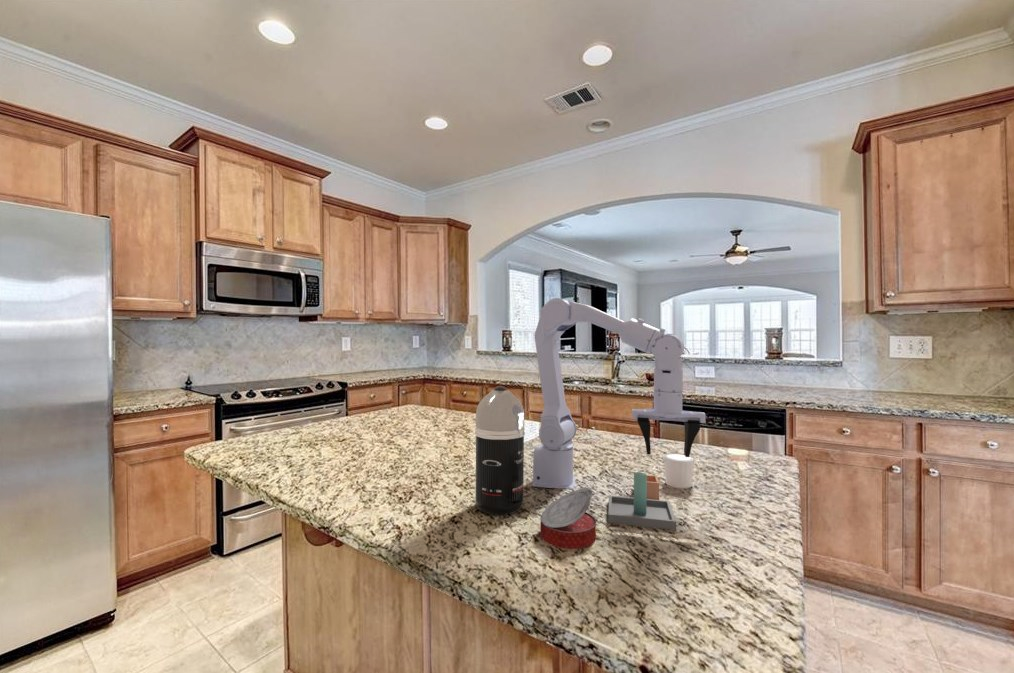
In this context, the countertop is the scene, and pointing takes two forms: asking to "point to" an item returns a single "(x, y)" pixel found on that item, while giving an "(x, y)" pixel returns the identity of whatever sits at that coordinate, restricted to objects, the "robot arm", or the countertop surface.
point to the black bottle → (499, 453)
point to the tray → (656, 515)
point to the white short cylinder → (678, 470)
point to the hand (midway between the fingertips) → (667, 454)
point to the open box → (652, 487)
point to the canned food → (569, 521)
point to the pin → (640, 493)
